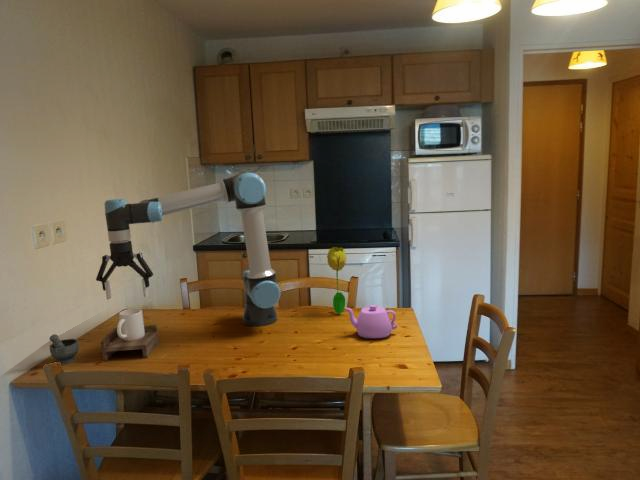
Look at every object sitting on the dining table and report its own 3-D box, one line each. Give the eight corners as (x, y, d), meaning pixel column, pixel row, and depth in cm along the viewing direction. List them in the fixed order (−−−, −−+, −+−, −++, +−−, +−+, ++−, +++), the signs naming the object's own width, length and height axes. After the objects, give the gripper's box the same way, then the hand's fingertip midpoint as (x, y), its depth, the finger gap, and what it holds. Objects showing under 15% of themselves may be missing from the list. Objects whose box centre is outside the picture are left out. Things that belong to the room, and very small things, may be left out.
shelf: (158, 342, 192) (156, 324, 191) (147, 357, 177) (144, 338, 176) (118, 345, 191) (115, 327, 190) (103, 361, 177) (100, 341, 175)
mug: (128, 346, 176) (124, 319, 175) (110, 344, 179) (106, 317, 177) (149, 334, 187) (146, 308, 186) (132, 333, 190) (128, 308, 188)
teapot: (396, 328, 192) (395, 299, 190) (398, 340, 179) (397, 310, 177) (346, 329, 194) (344, 301, 193) (344, 341, 181) (343, 311, 179)
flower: (329, 312, 217) (325, 247, 212) (347, 311, 218) (343, 245, 213) (331, 318, 208) (327, 250, 204) (350, 317, 209) (346, 249, 204)
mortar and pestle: (62, 356, 184) (58, 326, 182) (86, 355, 183) (81, 325, 181) (43, 368, 173) (38, 336, 171) (68, 368, 172) (63, 336, 170)
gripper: (157, 237, 181) (163, 292, 185) (90, 242, 180) (97, 296, 184) (151, 240, 174) (158, 297, 177) (81, 245, 173) (89, 302, 176)
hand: (127, 297), depth 180 cm, fingers open, 13 cm apart
